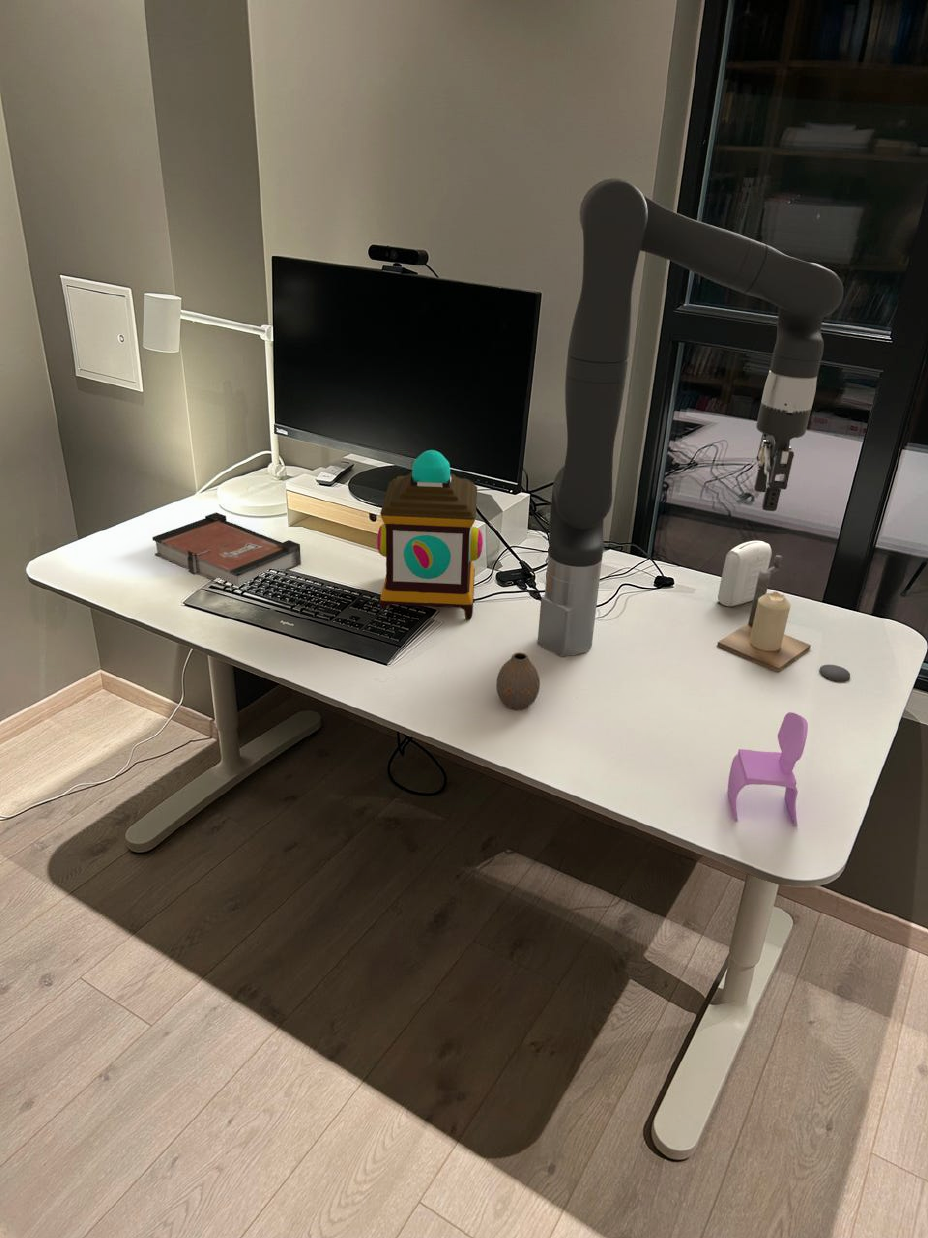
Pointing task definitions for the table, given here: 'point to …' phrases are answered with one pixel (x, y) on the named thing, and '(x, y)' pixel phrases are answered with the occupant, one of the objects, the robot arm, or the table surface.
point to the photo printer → (743, 572)
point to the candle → (770, 622)
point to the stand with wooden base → (741, 637)
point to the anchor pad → (834, 673)
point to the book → (225, 550)
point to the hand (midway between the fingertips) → (764, 500)
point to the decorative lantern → (429, 537)
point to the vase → (518, 682)
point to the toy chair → (771, 764)
